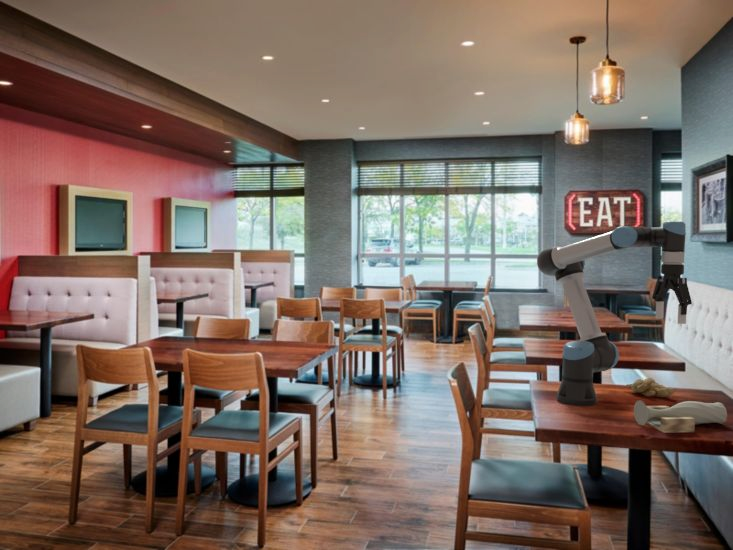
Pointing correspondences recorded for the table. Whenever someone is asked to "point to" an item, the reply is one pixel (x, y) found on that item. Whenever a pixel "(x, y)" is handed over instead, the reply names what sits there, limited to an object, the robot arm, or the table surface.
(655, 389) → the ginger root
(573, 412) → the table surface
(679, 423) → the u rest
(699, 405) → the vase
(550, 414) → the table surface
